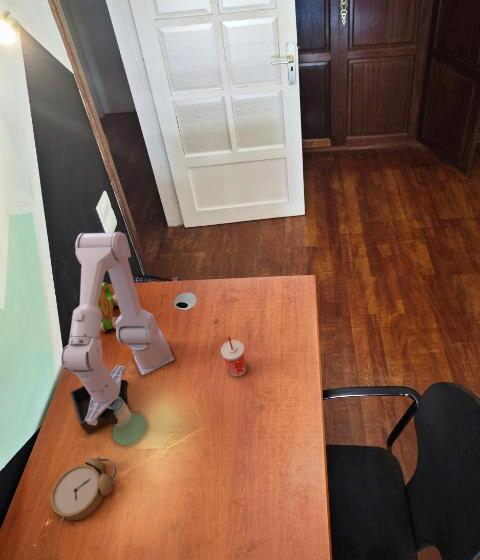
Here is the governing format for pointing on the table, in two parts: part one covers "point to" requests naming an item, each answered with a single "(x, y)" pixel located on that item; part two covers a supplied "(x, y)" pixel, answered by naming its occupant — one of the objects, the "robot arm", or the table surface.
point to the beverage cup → (234, 357)
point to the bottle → (120, 411)
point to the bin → (85, 409)
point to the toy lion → (107, 308)
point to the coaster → (130, 430)
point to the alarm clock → (81, 489)
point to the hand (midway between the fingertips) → (118, 412)
